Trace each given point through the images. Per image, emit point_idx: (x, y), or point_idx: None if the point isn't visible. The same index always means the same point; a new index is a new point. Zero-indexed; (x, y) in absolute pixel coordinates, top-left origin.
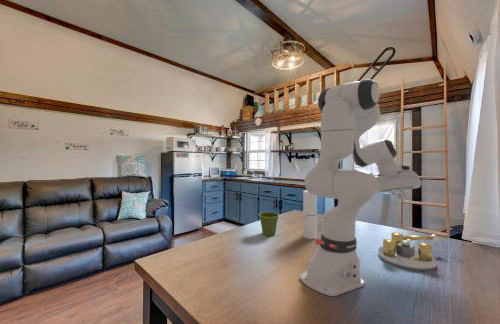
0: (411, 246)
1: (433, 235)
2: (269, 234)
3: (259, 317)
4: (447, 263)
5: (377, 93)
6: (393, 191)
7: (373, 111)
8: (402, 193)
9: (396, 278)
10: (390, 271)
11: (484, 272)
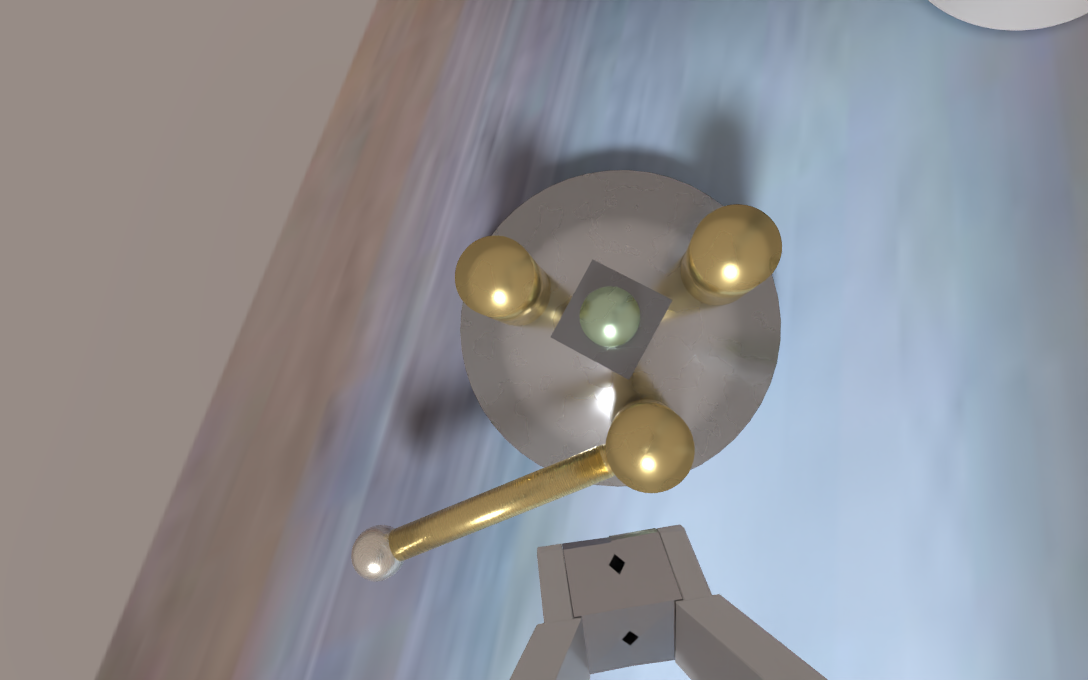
0: (576, 304)
1: (375, 549)
2: None
3: None
4: (406, 362)
5: None
6: (791, 674)
7: None
8: (560, 621)
9: (704, 38)
10: (724, 107)
11: (282, 315)
